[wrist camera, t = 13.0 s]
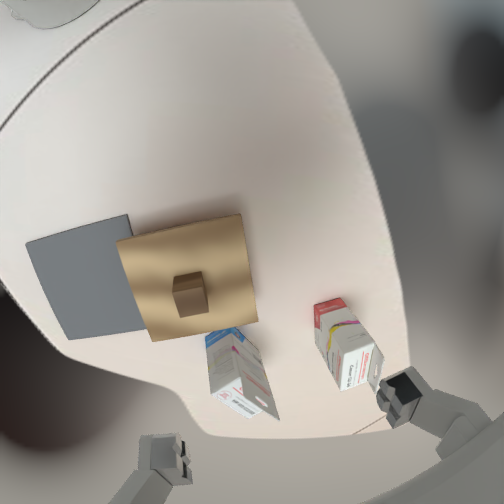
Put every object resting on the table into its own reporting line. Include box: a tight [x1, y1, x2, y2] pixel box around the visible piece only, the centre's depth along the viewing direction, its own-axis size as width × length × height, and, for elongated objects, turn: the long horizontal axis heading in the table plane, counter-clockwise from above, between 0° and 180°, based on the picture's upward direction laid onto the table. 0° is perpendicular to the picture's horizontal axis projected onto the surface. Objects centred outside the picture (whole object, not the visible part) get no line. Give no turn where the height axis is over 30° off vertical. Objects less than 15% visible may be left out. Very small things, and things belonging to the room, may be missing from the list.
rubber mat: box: [25, 215, 147, 340], centre depth 36 cm, size 17×17×1 cm
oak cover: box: [115, 214, 258, 342], centre depth 31 cm, size 14×14×4 cm
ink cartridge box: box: [314, 298, 385, 394], centre depth 39 cm, size 9×5×15 cm, turn 9°
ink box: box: [205, 327, 280, 421], centre depth 38 cm, size 8×5×15 cm, turn 35°
